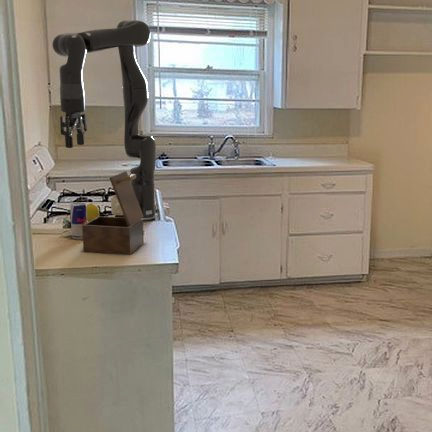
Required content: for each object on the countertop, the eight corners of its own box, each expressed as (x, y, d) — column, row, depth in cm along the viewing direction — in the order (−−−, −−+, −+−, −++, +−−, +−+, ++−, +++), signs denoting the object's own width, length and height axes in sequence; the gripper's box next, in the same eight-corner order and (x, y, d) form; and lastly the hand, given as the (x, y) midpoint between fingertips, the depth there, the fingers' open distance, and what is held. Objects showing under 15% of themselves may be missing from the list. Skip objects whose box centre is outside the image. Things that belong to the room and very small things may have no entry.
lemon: (96, 225, 217) (95, 205, 215) (82, 225, 217) (81, 204, 215) (101, 222, 222) (100, 202, 220) (87, 221, 222) (86, 201, 220)
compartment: (83, 251, 185) (82, 225, 183) (99, 240, 197) (98, 216, 195) (130, 254, 184) (129, 227, 182) (143, 243, 196) (142, 218, 194)
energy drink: (82, 240, 198) (81, 206, 195) (68, 238, 199) (66, 205, 196) (91, 236, 203) (89, 203, 200) (77, 234, 204) (75, 201, 201)
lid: (109, 178, 179) (123, 173, 178) (124, 171, 191) (137, 167, 190) (128, 226, 182) (142, 222, 181) (141, 217, 194) (155, 213, 193)
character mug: (126, 235, 205) (125, 200, 202) (107, 234, 205) (105, 199, 202) (136, 227, 215) (135, 194, 212) (118, 226, 216) (116, 193, 213)
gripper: (71, 96, 197) (74, 143, 200) (50, 97, 183) (54, 148, 187) (92, 96, 196) (94, 144, 200) (73, 98, 182) (76, 149, 186)
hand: (75, 146), depth 193 cm, fingers open, 8 cm apart
